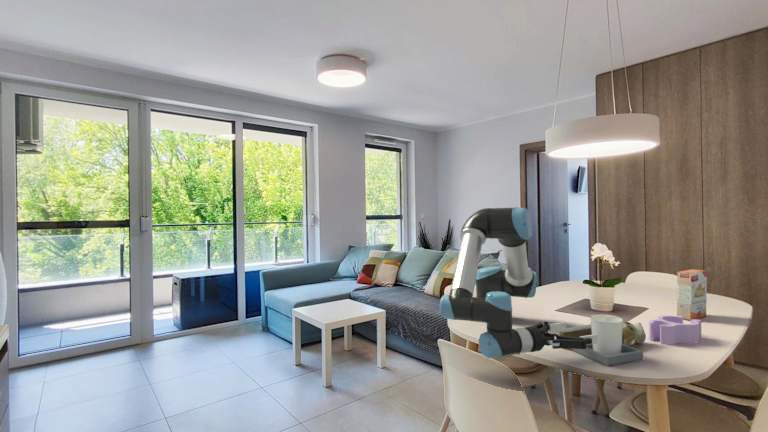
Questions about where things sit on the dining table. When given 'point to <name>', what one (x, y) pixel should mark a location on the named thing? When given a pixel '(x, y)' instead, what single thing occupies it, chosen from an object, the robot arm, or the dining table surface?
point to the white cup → (607, 334)
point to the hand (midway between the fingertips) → (580, 332)
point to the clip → (674, 330)
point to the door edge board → (576, 331)
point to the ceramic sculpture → (632, 334)
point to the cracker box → (691, 293)
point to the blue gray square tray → (626, 355)
